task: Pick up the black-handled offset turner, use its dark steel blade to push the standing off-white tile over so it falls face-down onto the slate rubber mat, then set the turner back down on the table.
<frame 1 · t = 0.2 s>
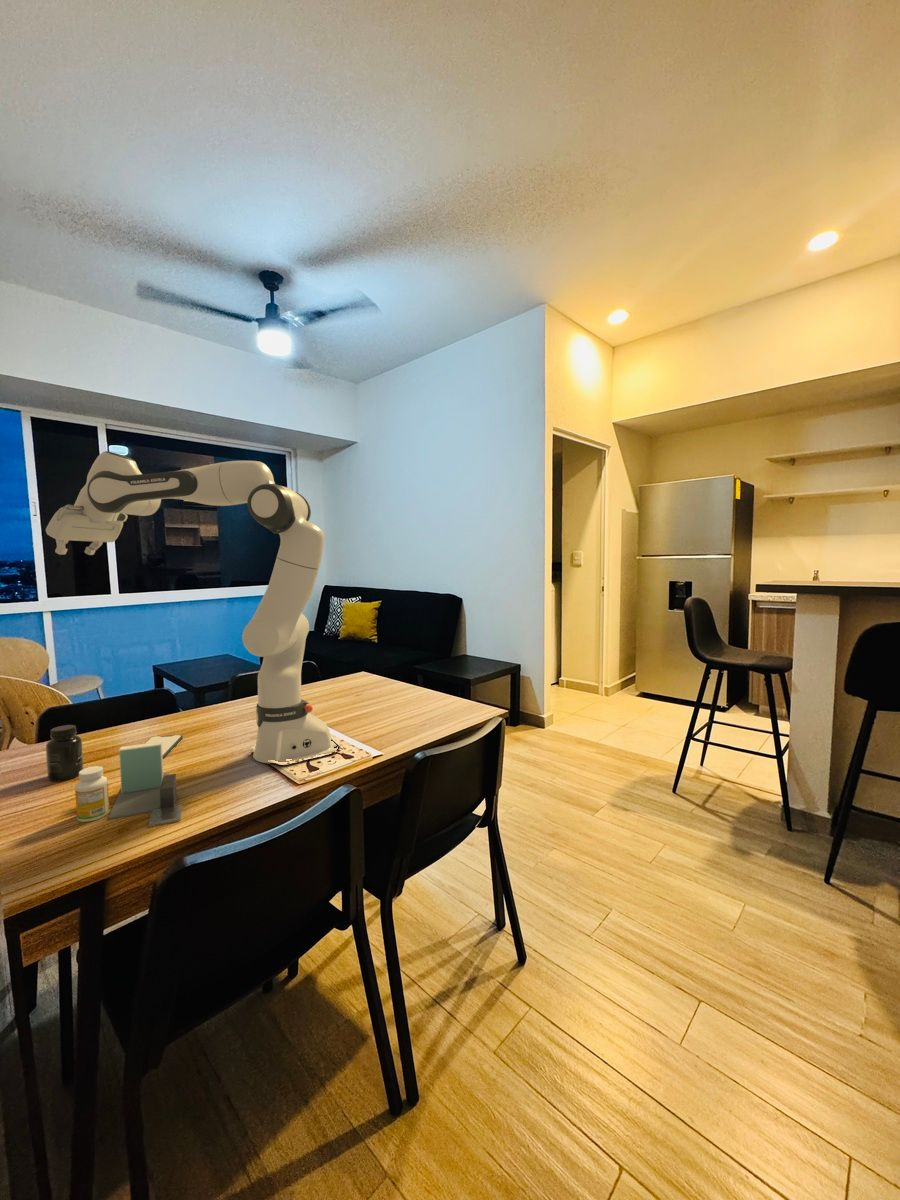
hand: (74, 553, 131), 54 cm above the table, tool tilted 30°, fingers open, 8 cm apart
tile: (143, 788, 111), resting on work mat
turner: (169, 803, 105), on the table
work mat: (141, 794, 108), on the table
supplement bottle: (66, 776, 117), on the table
phone case: (157, 751, 134), on the table
supplement bottle 2: (93, 816, 99), on the table
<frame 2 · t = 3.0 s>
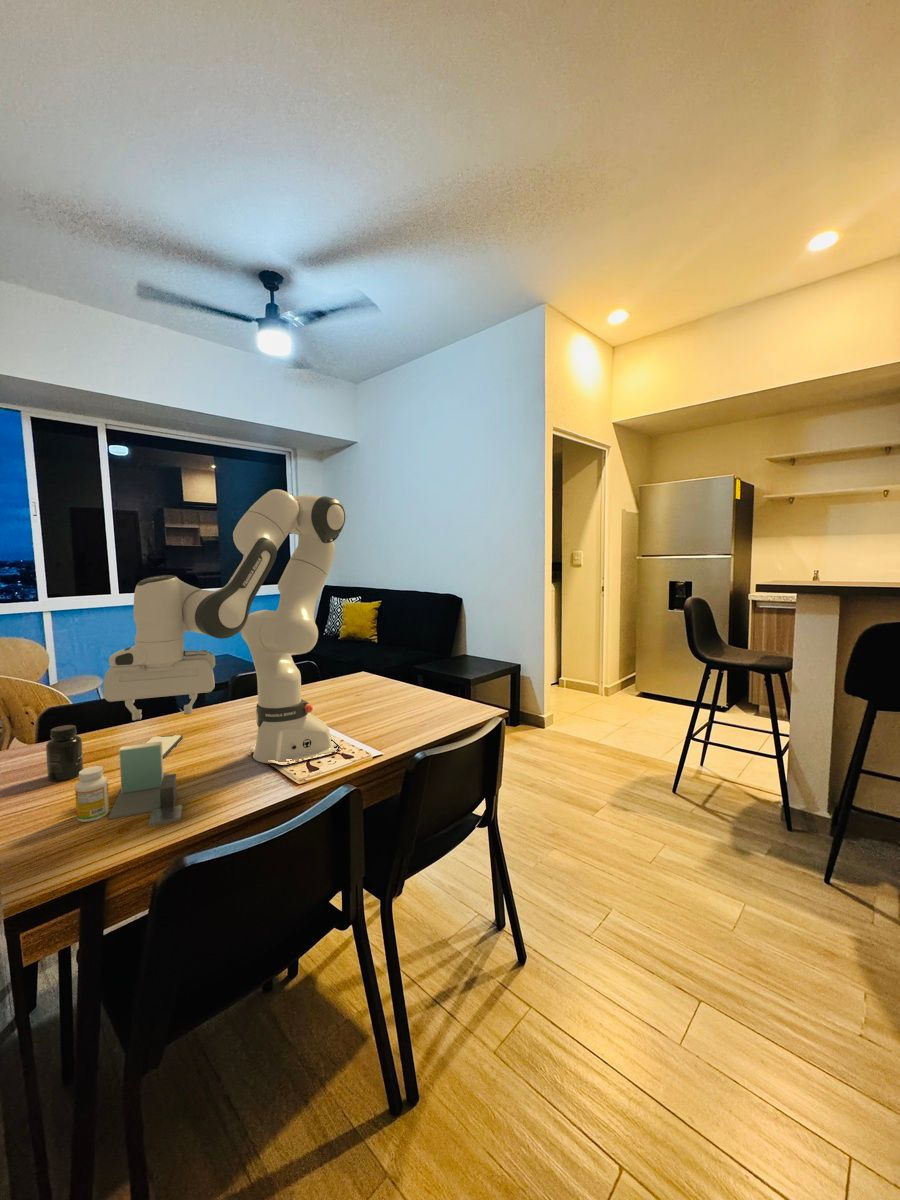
hand: (163, 716, 103), 19 cm above the table, tool pointing down, fingers open, 8 cm apart
nothing on the table moved.
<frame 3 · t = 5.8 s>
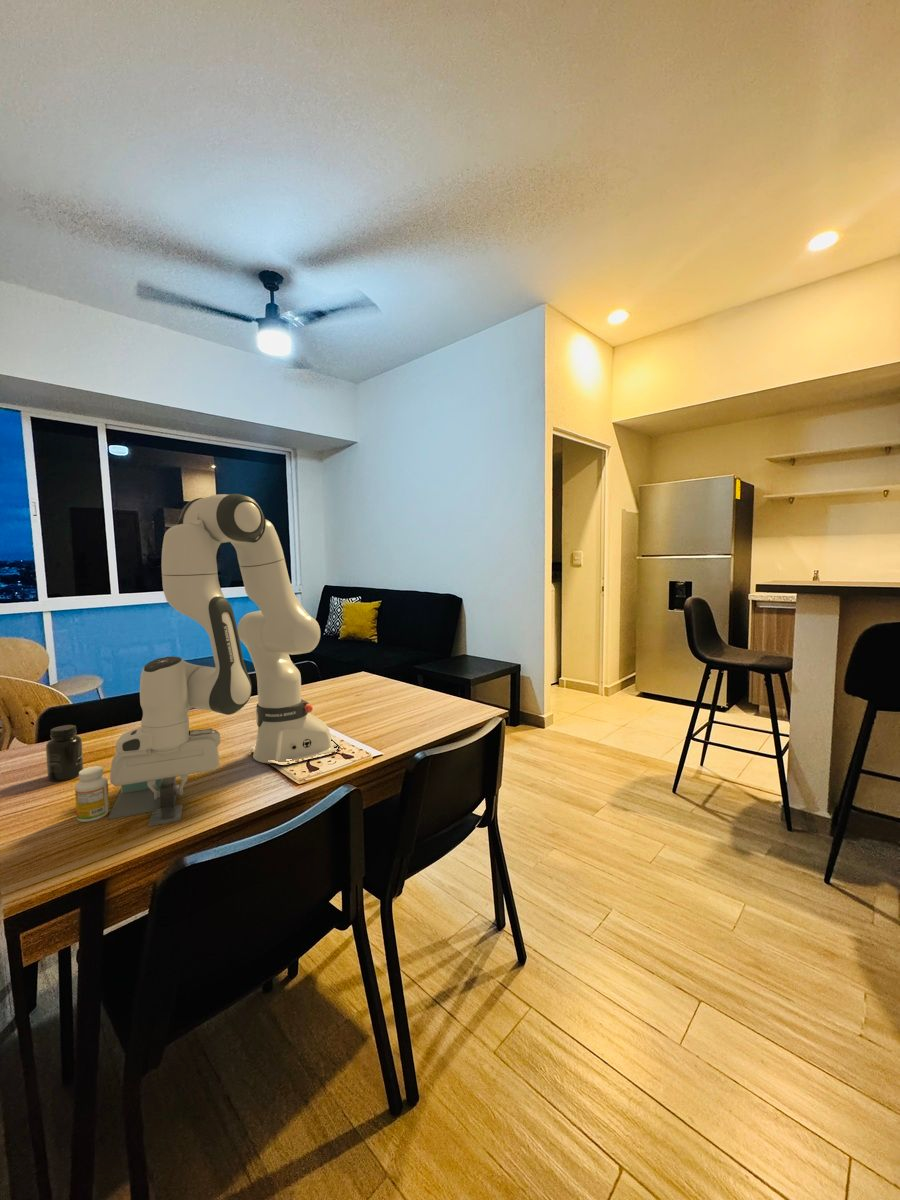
hand: (168, 796, 105), 2 cm above the table, tool pointing down, fingers closed on turner, 2 cm apart
turner: (169, 803, 105), on the table, touching gripper
everything else where it was.
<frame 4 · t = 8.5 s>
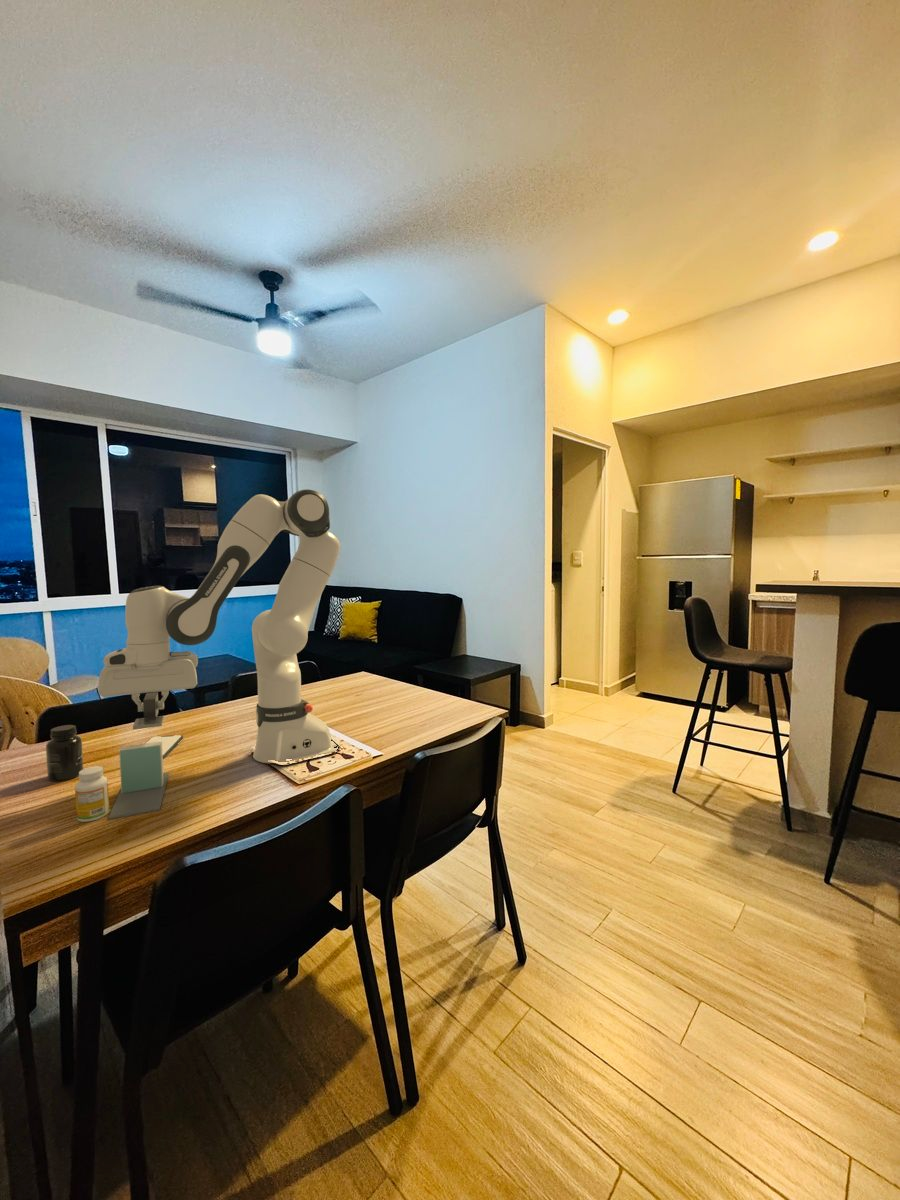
hand: (151, 709, 117), 16 cm above the table, tool pointing down, fingers closed on turner, 2 cm apart
turner: (151, 716, 117), point 15 cm above the table, touching gripper
everything else where it was.
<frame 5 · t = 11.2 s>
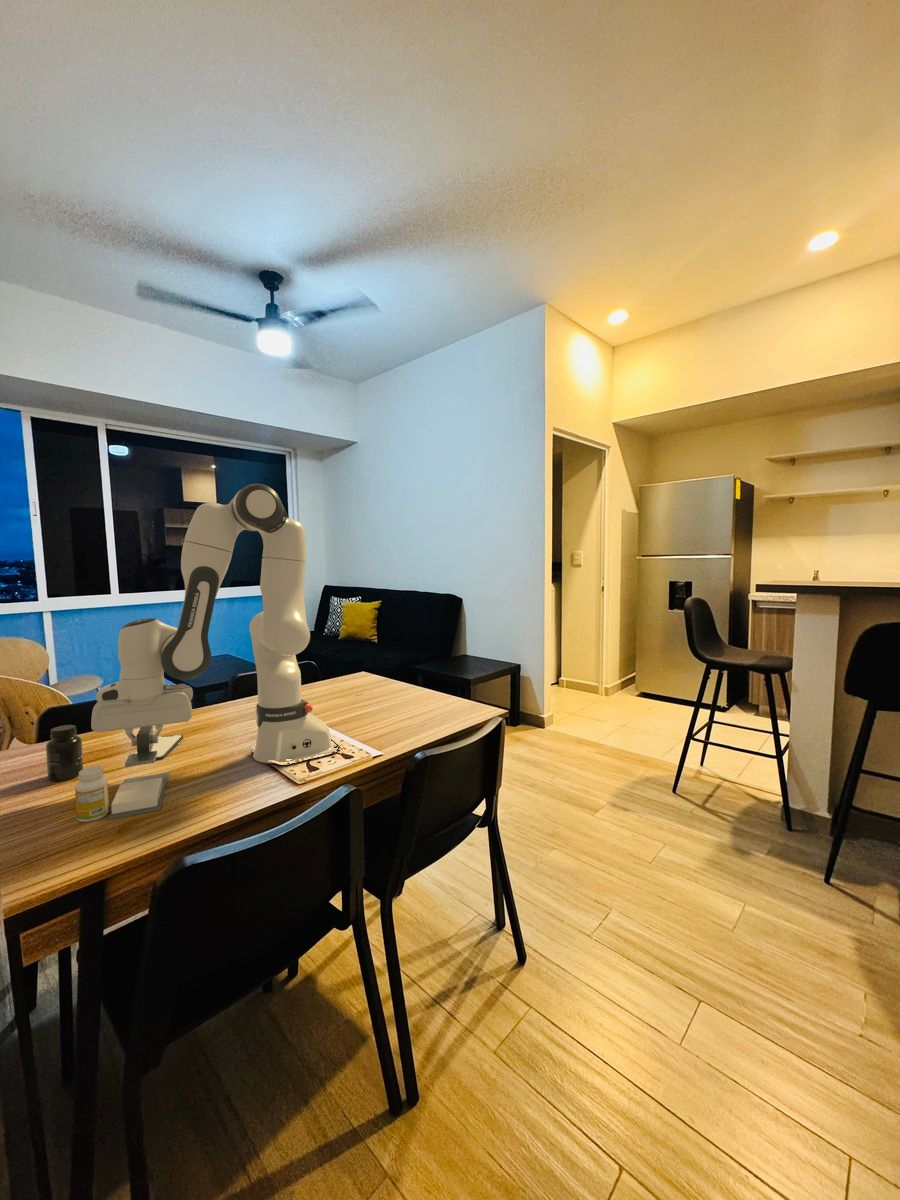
hand: (145, 744, 115), 9 cm above the table, tool pointing down, fingers closed on turner, 2 cm apart
tile: (142, 784, 109), point 2 cm above the table, tilted 90°, touching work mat
turner: (145, 750, 116), point 7 cm above the table, touching gripper
everything else where it was.
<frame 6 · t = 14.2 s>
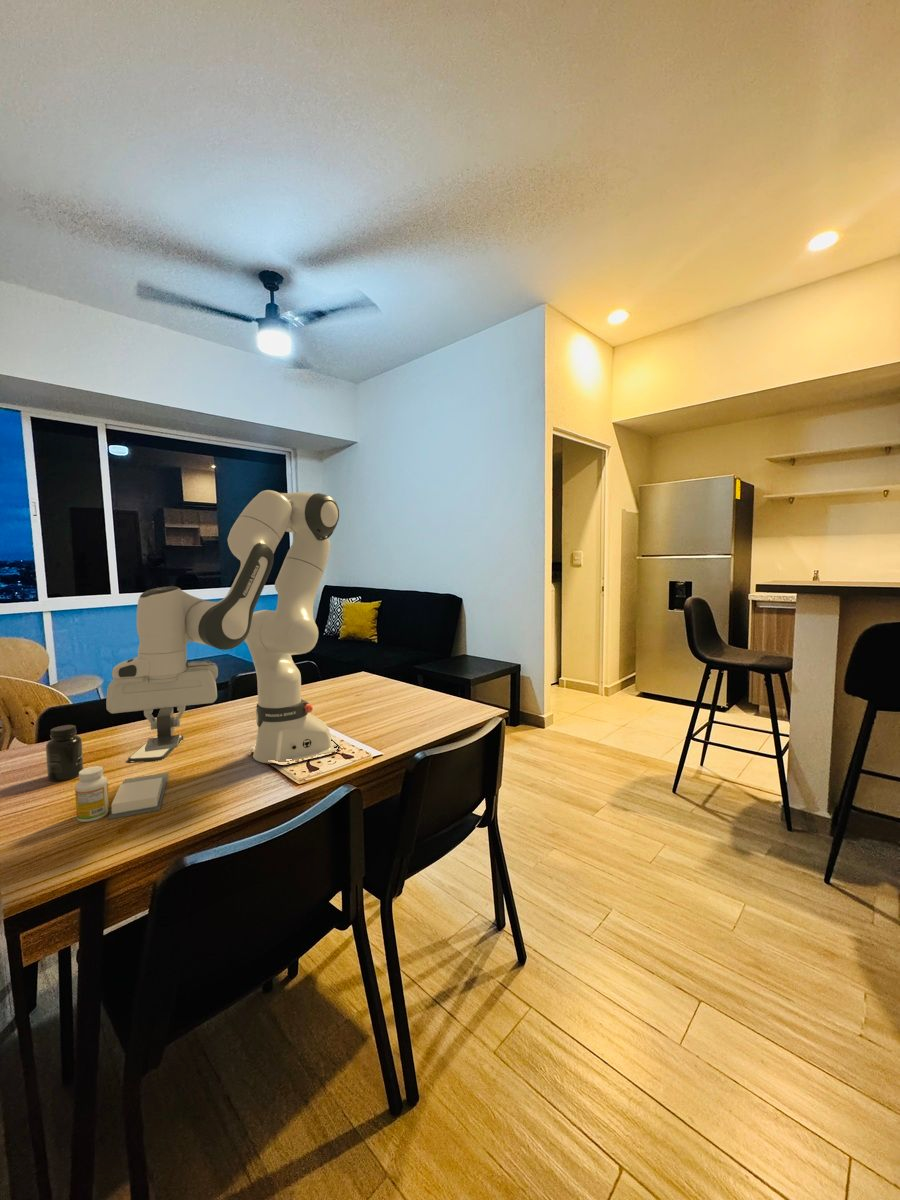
hand: (165, 727, 103), 17 cm above the table, tool pointing down, fingers closed on turner, 2 cm apart
turner: (166, 734, 103), point 15 cm above the table, touching gripper
everything else where it was.
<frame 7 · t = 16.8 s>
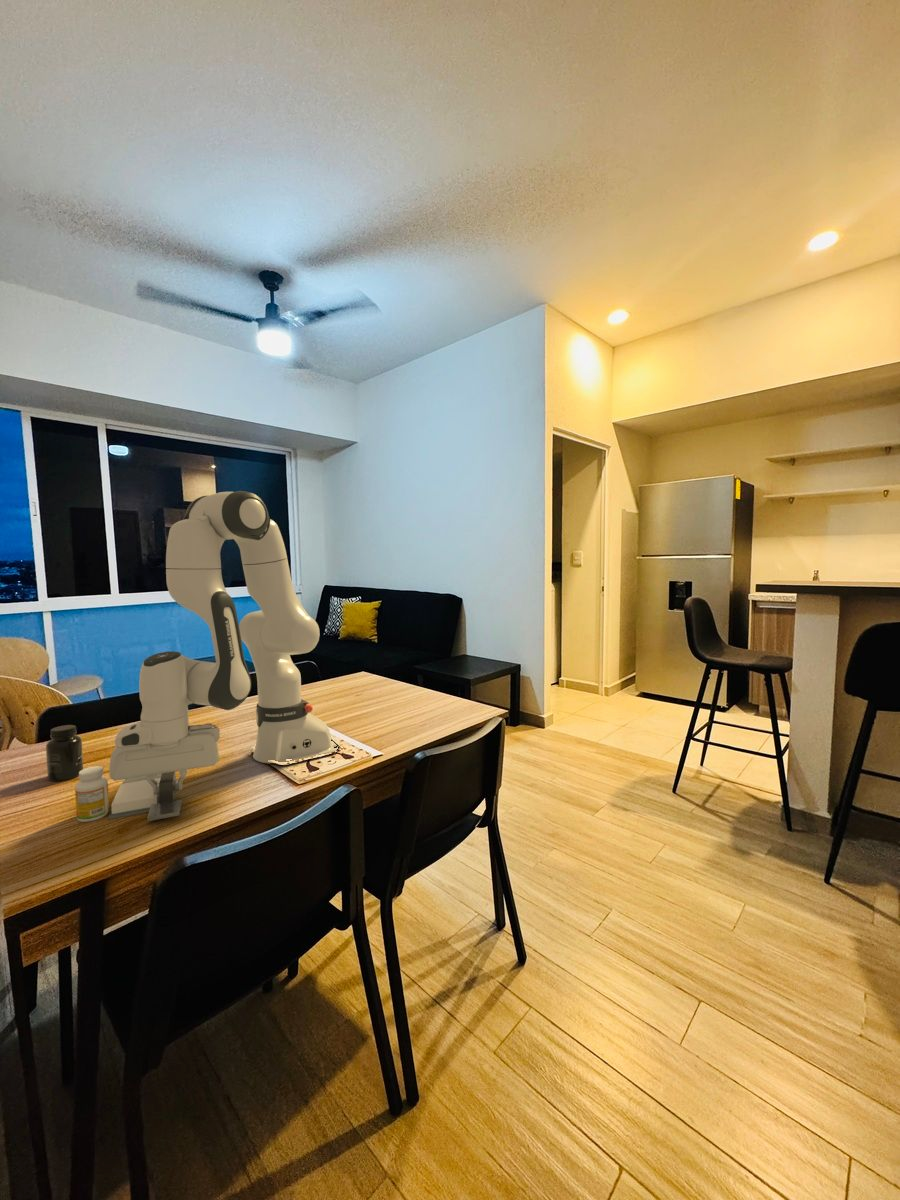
hand: (168, 791, 104), 3 cm above the table, tool pointing down, fingers closed on turner, 2 cm apart
tile: (142, 784, 109), point 2 cm above the table, tilted 90°, touching gripper, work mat
turner: (168, 798, 104), point 1 cm above the table, touching gripper
everything else where it was.
when the fingers open (3 cm above the table, at t = 17.0 s): turner drops 1 cm, on the table.
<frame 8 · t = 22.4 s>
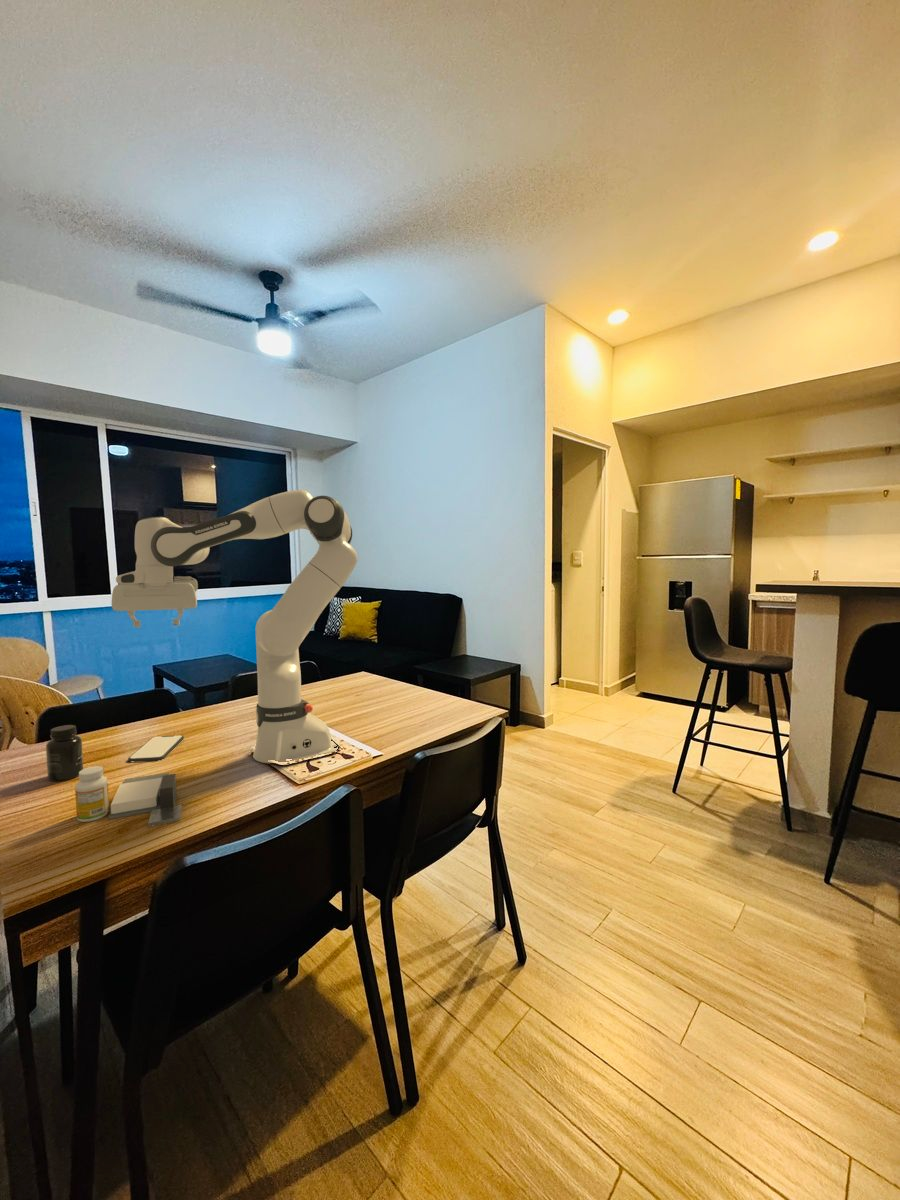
hand: (157, 626, 134), 34 cm above the table, tool pointing down, fingers open, 8 cm apart
tile: (141, 784, 109), point 2 cm above the table, tilted 90°, touching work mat
turner: (168, 803, 105), on the table
everything else where it was.
at the end: tile tilted 90°; tile inside the target area (0.7 cm from its centre), point 1.7 cm above the table; turner inside the target area (0.1 cm from its centre), on the table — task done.
